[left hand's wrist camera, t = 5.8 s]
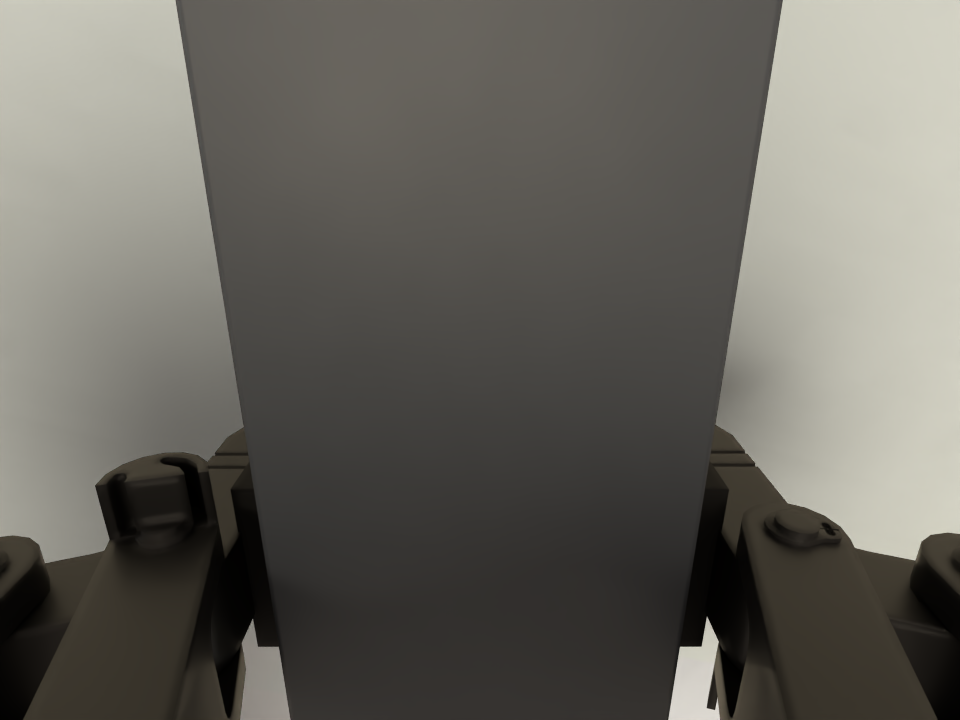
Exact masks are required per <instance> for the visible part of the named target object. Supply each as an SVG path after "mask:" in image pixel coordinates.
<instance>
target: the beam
mask: <svg viewBox="0 0 960 720" xmlns="http://www.w3.org/2000/svg"><path fill="white" fill-rule="evenodd" d="M782 2H783V0H176V5H177V12H178V18H179V24H180V31H181V37H182V43H183V49H184V56H185V62H186V68H187V74H188V81H189V87H190V93H191V99H192V106H193V112H194V118H195V124H196V131H197V137H198V143H199V149H200V156H201V162H202V168H203V174H204V181H205V187H206V193H207V199H208V206H209V212H210V218H211V224H212V231H213V237H214V243H215V249H216V256H217V262H218V268H219V274H220V281H221V287H222V293H223V299H224V306H225V312H226V318H227V324H228V331H229V337H230V343H231V349H232V356H233V362H234V368H235V375H236V381H237V387H238V393H239V400H240V406H241V412H242V418H243V425H244V431H245V437H246V443H247V450H248V456H249V462H250V468H251V475H252V481H253V487H254V493H255V500H256V506H257V512H258V518H259V525H260V531H261V537H262V543H263V550H264V556H265V562H266V568H267V575H268V581H269V587H270V593H271V600H272V606H273V612H274V618H275V625H276V631H277V637H278V643H279V650H280V656H281V662H282V668H283V675H284V681H285V687H286V694H287V700H288V706H289V712H290V719H291V720H668V717H669V711H670V705H671V699H672V692H673V686H674V680H675V673H676V667H677V661H678V655H679V648H680V642H681V636H682V630H683V623H684V617H685V611H686V604H687V598H688V592H689V586H690V579H691V573H692V567H693V560H694V554H695V548H696V542H697V535H698V529H699V523H700V516H701V510H702V504H703V498H704V491H705V485H706V479H707V473H708V466H709V460H710V454H711V447H712V441H713V435H714V429H715V422H716V416H717V410H718V403H719V397H720V391H721V385H722V378H723V372H724V366H725V360H726V353H727V347H728V341H729V334H730V328H731V322H732V316H733V309H734V303H735V297H736V290H737V284H738V278H739V272H740V265H741V259H742V253H743V247H744V240H745V234H746V228H747V221H748V215H749V209H750V203H751V196H752V190H753V184H754V177H755V171H756V165H757V159H758V152H759V146H760V140H761V133H762V127H763V121H764V115H765V108H766V102H767V96H768V90H769V83H770V77H771V71H772V64H773V58H774V52H775V46H776V39H777V33H778V27H779V20H780V14H781V8H782Z"/></svg>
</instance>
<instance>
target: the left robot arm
mask: <svg viewBox="0 0 960 720" xmlns="http://www.w3.org/2000/svg"><path fill="white" fill-rule="evenodd" d="M95 487H96V491H97V495H98V498H99V502H100V506H101V509H102V513H103V517H104V520H105V524H106V528H107V531H108V535H109V539H110V541H109V543H108V545H107V547H106V549H105V551H102V552H98V553H95V554H90V555H85V556H80V557H75V558H70V559H65V560H60V561H55V562H50V563H45V562H44V559H43V556H42V553H41V550H40V547H39V545H38V544H37V543H36V542H34V541H33V540H32V539H30V538H27V537H19V536H5V537H0V720H240V714H241V706H242V698H243V689H244V681H245V672H246V667H245V660H244V654H243V649H242V641H243V639H244V637H245V634H246V632H247V630H248V628H249V626H250V623H251V621H252V619H253V620H254V626H255V632H256V637H257V643H258V647H279V643H278V637H277V631H276V625H275V618H274V612H273V606H272V600H271V593H270V587H269V581H268V575H267V568H266V562H265V556H264V550H263V543H262V537H261V531H260V525H259V518H258V512H257V506H256V500H255V493H254V487H253V481H252V475H251V468H250V462H249V456H248V450H247V443H246V437H245V431H244V428H242V429H240V430H239V431H237V432H235V433H234V434H232V435H231V436H229V437H228V438H227V439H226V440H225V441H224V442H223V444H222V445H221V446H220V447H219V449H218V450H217V451H216V452H215V456H212V457H211V459H210V460H209V461H208V462H206V461H205V460H204V459H202V458H201V457H200V456H198V455H193V454H188V453H184V452H181V453H162V454H157V455H152V456H147V457H142V458H139V459H137V460H134V461H131V462H129V463H126V464H123V465H121V466H119V467H118V468H116V469H114V470H113V471H111V472H109V473H108V474H106V475H105V476H104V477H103V478H102V479H101V480H100V481H99V482H98V483H97V484H96V485H95ZM707 617H708V619H709V621H710V623H711V626H712V628H713V630H714V632H715V634H716V636H717V639H718V641H719V643H718V649H717V654H716V659H715V665H714V670H713V675H712V680H711V686H710V691H709V697H708V703H707V708H709V709H713V710H715V707H716V702H717V697H718V705H719V713H720V720H960V534H954V533H942V534H935V535H930V536H929V537H928V538H926V539H925V540H924V541H922V542H921V545H920V548H919V552H918V555H917V558H916V561H914V560H909V559H904V558H899V557H894V556H889V555H883V554H878V553H873V552H868V551H864V550H860V549H857V548H854V546H853V544H852V542H851V539H850V538H849V537H848V536H847V534H846V533H845V532H844V531H843V529H842V528H841V527H840V526H839V525H837V524H836V523H834V522H833V521H831V520H830V519H828V518H827V517H825V516H824V515H821V514H819V513H817V512H814V511H812V510H810V509H807V508H805V507H800V506H796V505H792V504H788V503H787V502H786V501H785V500H784V499H783V497H782V496H781V495H780V494H779V492H778V491H777V490H776V489H775V487H774V486H773V485H772V484H771V482H770V481H769V480H768V479H767V478H766V476H765V475H764V474H763V473H762V471H761V470H760V469H759V468H758V467H755V463H754V461H753V460H752V459H751V458H750V456H749V455H748V454H745V450H744V449H743V448H742V447H741V445H740V444H739V443H738V442H737V440H736V439H735V438H734V437H733V435H731V434H729V433H728V432H726V431H725V430H723V429H721V428H720V427H718V426H716V425H715V429H714V435H713V441H712V447H711V454H710V460H709V466H708V473H707V479H706V485H705V491H704V498H703V504H702V510H701V516H700V523H699V529H698V535H697V542H696V548H695V554H694V560H693V567H692V573H691V579H690V586H689V592H688V598H687V604H686V611H685V617H684V623H683V630H682V636H681V642H680V647H701V646H702V641H703V635H704V629H705V624H706V618H707Z"/></svg>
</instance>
